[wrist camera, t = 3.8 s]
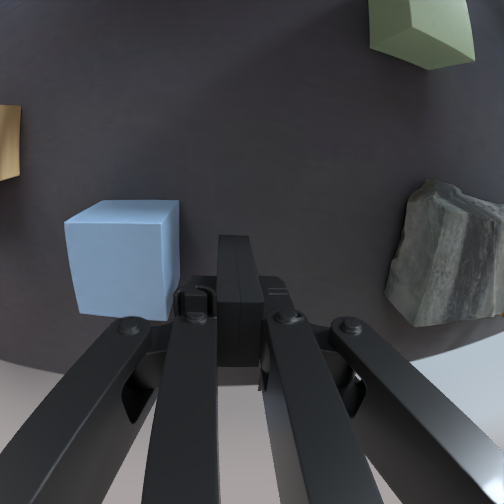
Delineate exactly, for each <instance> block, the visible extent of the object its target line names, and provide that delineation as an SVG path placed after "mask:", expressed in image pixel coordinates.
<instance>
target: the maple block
mask: <svg viewBox="0 0 504 504" xmlns="http://www.w3.org/2000/svg"><path fill="white" fill-rule="evenodd" d="M20 115H21V106H15V105H0V181H2V180H5V179H9V178H12V177H16V176H19V175H20V170H19V134H20Z"/></svg>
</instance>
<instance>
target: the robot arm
mask: <svg viewBox="0 0 504 504" xmlns="http://www.w3.org/2000/svg"><path fill="white" fill-rule="evenodd" d="M173 301H174V313H175V318H174V321H173V322H171V323H169V324H166V325H162V326H157V327H150V323H149V322H148V321H147V320H146V319H144V318H142V317H138V316H126V317H123V318H120V319H117V320H116V321H114V322H113V323H112V324H111V325H110V326H109V327H108V328H107V329H106V330H105V331H104V332H103V333H102V334H101V335H100V337H99V338H98V339H97V340H96V341H95V342H94V343H93V344H92V345H91V346H90V347H89V348H88V350H87V351H86V352H85V353H84V354H83V355H82V356H81V357H80V358H79V359H78V361H77V362H76V363H75V364H74V365H73V366H72V367H71V368H70V370H69V371H68V372H67V373H66V374H65V375H64V376H63V378H62V379H61V380H60V381H59V382H58V383H57V384H56V386H55V387H54V388H53V389H52V390H51V391H50V393H49V394H48V395H47V396H46V397H45V398H44V400H43V401H42V402H41V403H40V405H39V406H38V407H37V408H36V409H35V410H34V412H33V413H32V414H31V415H30V417H29V418H28V419H27V420H26V421H25V423H24V424H23V425H22V426H21V428H20V429H19V430H18V431H17V433H16V434H15V435H14V437H13V438H12V440H11V441H10V442H9V443H8V444H7V446H6V447H5V448H4V450H3V451H2V452H1V454H0V504H101V503H102V501H103V499H104V498H105V496H106V494H107V492H108V490H109V488H110V486H111V484H112V482H113V480H114V478H115V476H116V474H117V472H118V470H119V469H120V467H121V465H122V463H123V461H124V459H125V457H126V455H127V453H128V451H129V449H130V448H131V445H132V444H133V442H134V440H135V438H136V436H137V434H138V432H139V431H140V429H141V427H142V425H143V423H144V421H145V419H146V417H147V415H148V413H149V412H150V410H151V408H152V406H153V404H154V402H155V400H156V399H157V402H156V408H155V413H154V419H153V424H152V430H151V436H150V443H149V449H148V455H147V462H146V469H145V477H144V484H143V493H142V501H141V504H221V498H220V475H219V448H218V446H219V445H218V388H217V367H258V366H259V357H260V363H261V370H260V378H259V387H258V391H261V389H262V393H263V400H264V407H265V413H266V419H267V425H268V431H269V437H270V444H271V449H272V455H273V462H274V467H275V473H276V479H277V485H278V491H279V497H280V503H281V504H384V503H383V500H382V498H381V495H380V492H379V490H378V487H377V485H376V482H375V480H374V477H373V474H372V472H371V469H370V467H369V464H368V462H367V459H366V457H365V455H366V456H367V458H368V459H369V460H370V462H371V463H372V464H373V465H374V467H375V468H376V470H377V471H378V472H379V474H380V475H381V476H382V477H383V479H384V480H385V482H386V483H387V484H388V485H389V487H390V488H391V489H392V491H393V492H394V493H395V494H396V496H397V497H398V498H399V500H400V501H401V502H402V503H403V504H504V452H503V451H502V450H501V449H500V448H499V447H498V446H497V445H496V444H495V443H494V442H493V441H492V440H491V439H490V438H489V437H488V436H487V435H486V434H485V433H484V432H483V431H482V430H481V429H480V428H479V427H478V426H477V425H475V424H474V423H473V422H472V421H471V420H470V419H469V418H468V417H467V416H466V415H465V414H464V413H463V412H462V411H461V410H460V409H459V408H458V407H457V406H456V405H455V404H453V403H452V402H451V401H450V400H449V399H448V398H447V397H446V396H445V395H444V394H443V393H442V392H441V391H440V390H439V389H438V388H436V387H435V386H434V385H433V384H432V383H431V382H430V381H429V380H428V379H427V378H426V377H425V376H423V374H421V373H420V372H419V371H418V370H417V369H416V368H415V367H414V366H413V365H411V363H409V362H408V361H407V360H406V359H405V358H404V357H403V356H402V355H401V354H400V353H398V352H397V351H396V350H395V349H394V348H393V347H392V346H391V345H390V344H389V343H387V342H386V341H385V340H384V339H383V338H382V337H381V336H380V335H379V334H377V333H376V332H375V331H374V330H373V329H372V328H371V327H370V326H369V325H367V324H366V323H365V322H363V321H362V320H359V319H357V318H354V317H339V318H336V319H334V320H333V322H332V323H331V327H330V328H329V327H323V326H317V325H313V324H310V323H309V322H308V320H307V318H306V316H305V315H304V314H303V313H302V312H300V311H298V310H296V309H295V307H294V305H293V303H292V300H291V298H290V295H289V293H288V290H287V288H286V286H285V283H284V282H283V281H282V280H281V279H280V278H278V277H277V276H258V272H257V268H256V264H255V261H254V257H253V253H252V249H251V245H250V241H249V237H248V236H236V235H219V243H218V262H217V276H193V277H192V278H191V279H189V280H188V282H187V286H183V287H180V288H178V289H177V290H175V292H174V293H173ZM356 373H357V374H358V375H359V376H360V378H361V381H360V380H359V379H357V377H356V376H355V374H356Z"/></svg>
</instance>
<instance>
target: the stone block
mask: <svg viewBox="0 0 504 504" xmlns="http://www.w3.org/2000/svg"><path fill="white" fill-rule="evenodd" d="M384 294H385V296H386V297H387V298H388V300H389V301H390V302H391V303H392V304H393V305H394V306H395V308H396V309H397V310H398V311H399V312H400V313H401V314H402V315H403V317H404V318H405V319H406V320H407V321H408V322H409V324H410V325H412V326H413V327H423V326H431V325H438V324H445V323H451V322H455V321H464V320H471V319H478V318H484V317H488V316H490V317H492V318H493V317H494V316H495V314H501V313H504V205H503V204H497V203H493V202H489V201H483V200H480V199H477V198H474V197H471V196H467V195H464V194H462V192H461V190H460V189H458V188H457V187H456V186H454V185H451V184H447V183H445V182H441V181H437V180H432V179H426V180H425V182H424V185H423V186H422V187H421V188H420V189H418V190H416V191H415V192H413V193H412V195H411V196H410V197H409V199H408V202H407V212H406V217H405V223H404V227H403V229H402V238H401V240H400V243H399V245H398V248H397V251H396V254H395V257H394V258H393V259H392V261H391V267H390V271H389V276H388V280H387V284H386V288H385V291H384Z"/></svg>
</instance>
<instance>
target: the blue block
mask: <svg viewBox="0 0 504 504" xmlns="http://www.w3.org/2000/svg"><path fill="white" fill-rule="evenodd" d="M64 229H65V237H66V244H67V251H68V258H69V264H70V269H71V275H72V280H73V285H74V290H75V294H76V299H77V303H78V307H79V312H80V313H81V314H90V315H99V316H108V317H119V318H123V317H126V316H138V317H142V318H144V319H146V320H156V321H168V317H169V314H170V310H171V307H172V303H173V293H174V292H175V290H176V289H177V286H178V283H179V279H180V252H179V201H178V200H102V201H100V202H99V203H97V204H95V205H93V206H91V207H90V208H88V209H86V210H84V211H82V212H81V213H79V214H77V215H75V216H74V217H72V218H70V219H69V220H67V221H65V222H64Z"/></svg>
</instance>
